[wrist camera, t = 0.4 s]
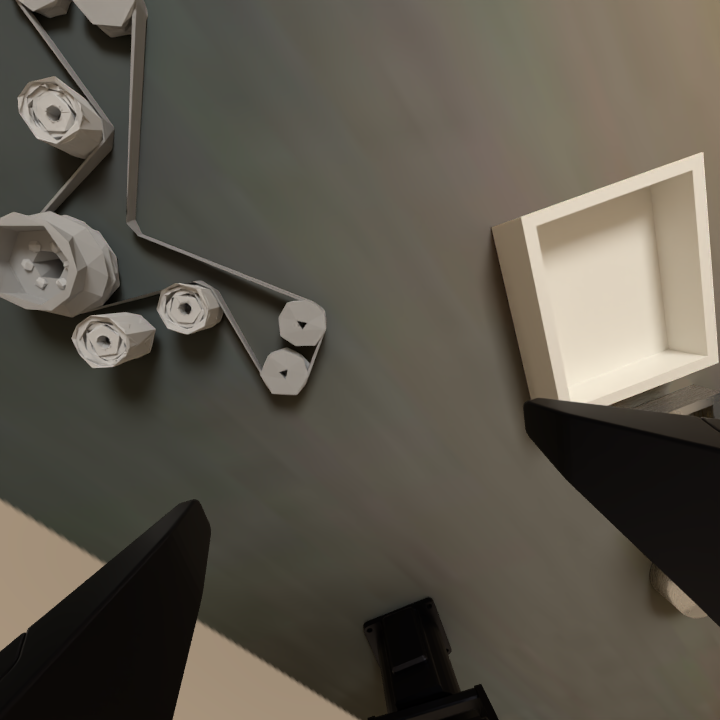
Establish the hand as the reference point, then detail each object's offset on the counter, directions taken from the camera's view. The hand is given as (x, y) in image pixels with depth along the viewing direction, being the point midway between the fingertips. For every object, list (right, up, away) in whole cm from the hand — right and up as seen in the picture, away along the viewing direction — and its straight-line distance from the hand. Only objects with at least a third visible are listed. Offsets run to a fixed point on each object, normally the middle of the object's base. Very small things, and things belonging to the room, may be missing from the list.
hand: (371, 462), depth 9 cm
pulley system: (-14, +11, +12) cm, 22 cm away
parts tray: (+17, +8, +16) cm, 24 cm away
